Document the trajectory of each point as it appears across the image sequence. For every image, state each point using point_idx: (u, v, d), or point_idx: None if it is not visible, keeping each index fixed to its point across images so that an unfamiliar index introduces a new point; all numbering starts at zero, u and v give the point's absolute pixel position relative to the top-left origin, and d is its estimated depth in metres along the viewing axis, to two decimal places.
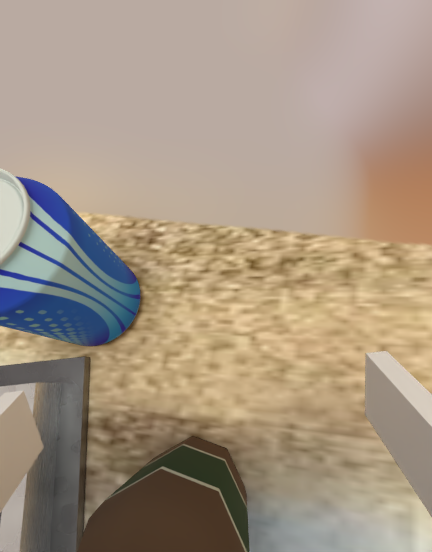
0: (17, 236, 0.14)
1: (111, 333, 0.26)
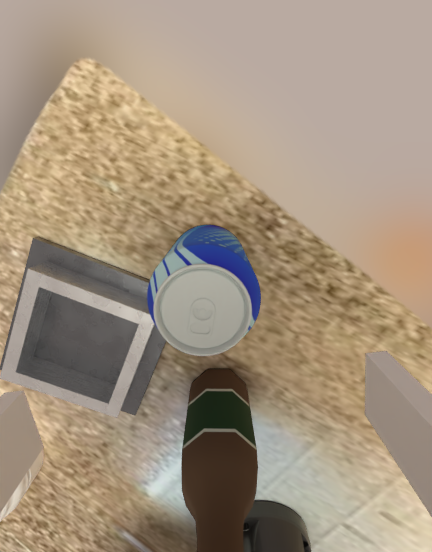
0: (236, 343, 0.21)
1: None
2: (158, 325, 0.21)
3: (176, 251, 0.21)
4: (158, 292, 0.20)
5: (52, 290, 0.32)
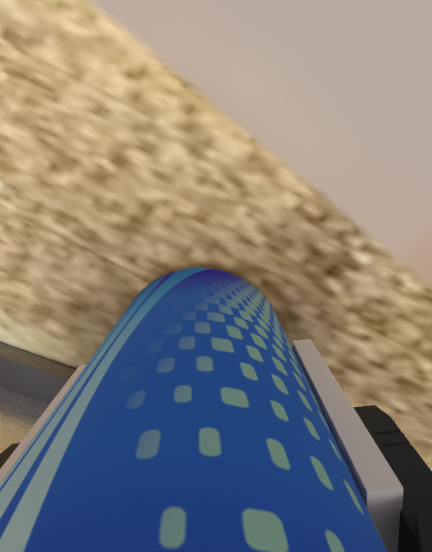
0: None
1: None
2: None
3: None
4: None
5: None
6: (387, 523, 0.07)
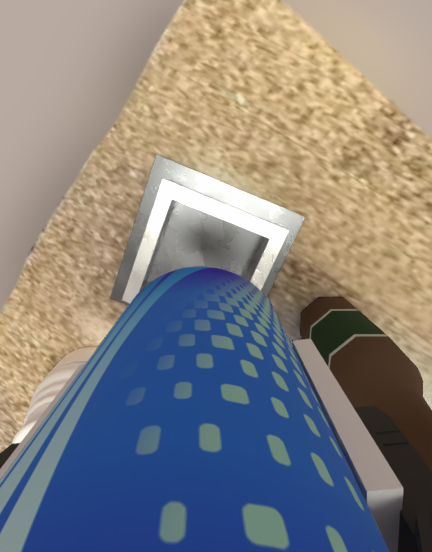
0: None
1: None
2: None
3: None
4: None
5: (185, 202, 0.31)
6: (387, 523, 0.07)
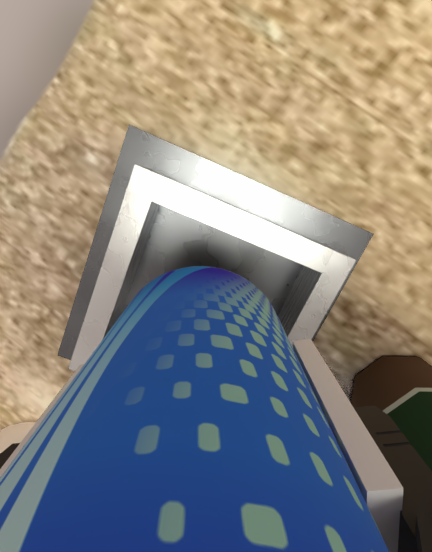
0: None
1: None
2: None
3: None
4: None
5: (176, 208, 0.17)
6: (387, 523, 0.07)
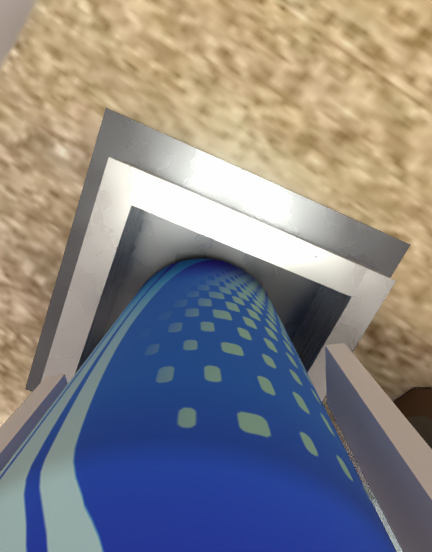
0: None
1: None
2: None
3: (32, 481, 0.04)
4: None
5: (163, 214, 0.13)
6: None
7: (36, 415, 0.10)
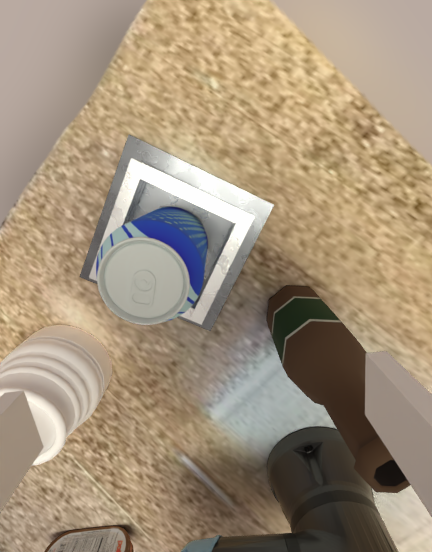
0: (175, 314, 0.22)
1: None
2: (102, 294, 0.22)
3: (123, 225, 0.23)
4: (101, 262, 0.21)
5: (153, 183, 0.32)
6: None
7: None
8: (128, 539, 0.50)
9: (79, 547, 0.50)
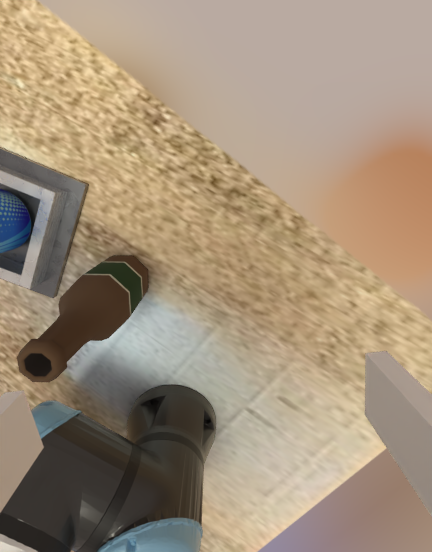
0: None
1: None
2: None
3: None
4: None
5: None
6: None
7: None
8: None
9: None
